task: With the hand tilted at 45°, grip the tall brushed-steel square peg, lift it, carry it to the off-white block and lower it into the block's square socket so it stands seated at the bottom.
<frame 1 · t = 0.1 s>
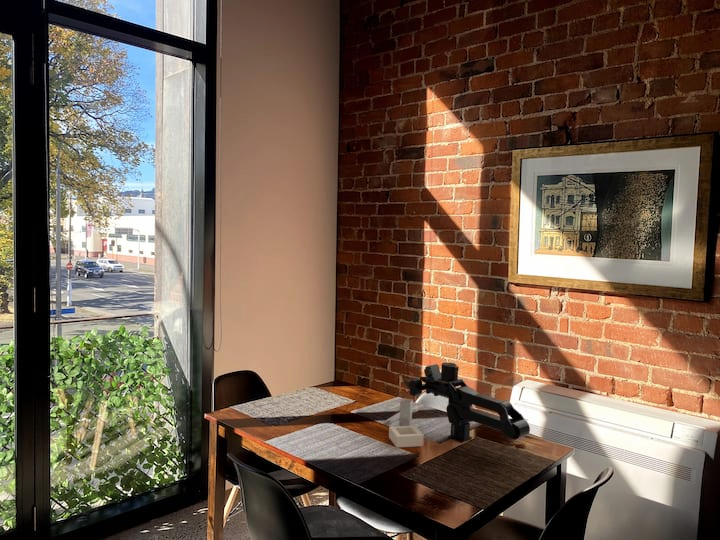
hand: (412, 379, 236), 17 cm above the table, tool horizontal, fingers open, 9 cm apart
socket block: (405, 441, 214), on the table
steel peg: (405, 430, 225), on the table
adjustable wrench: (399, 416, 243), on the table
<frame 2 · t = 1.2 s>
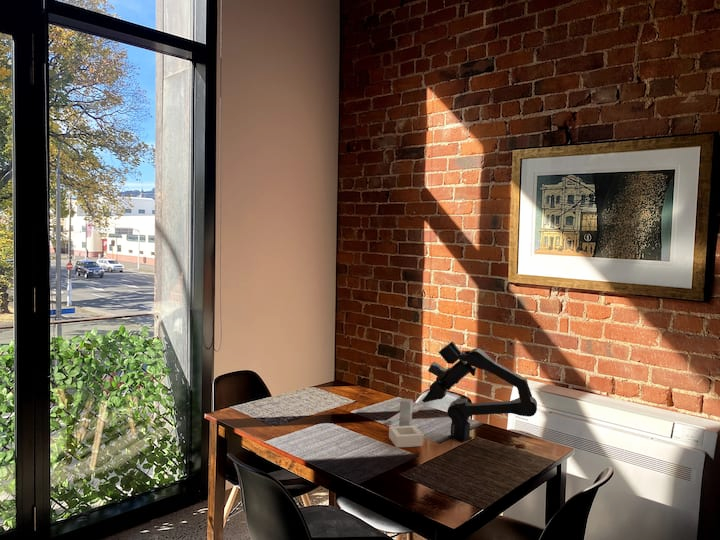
hand: (425, 398, 222), 14 cm above the table, tool tilted 45°, fingers open, 9 cm apart
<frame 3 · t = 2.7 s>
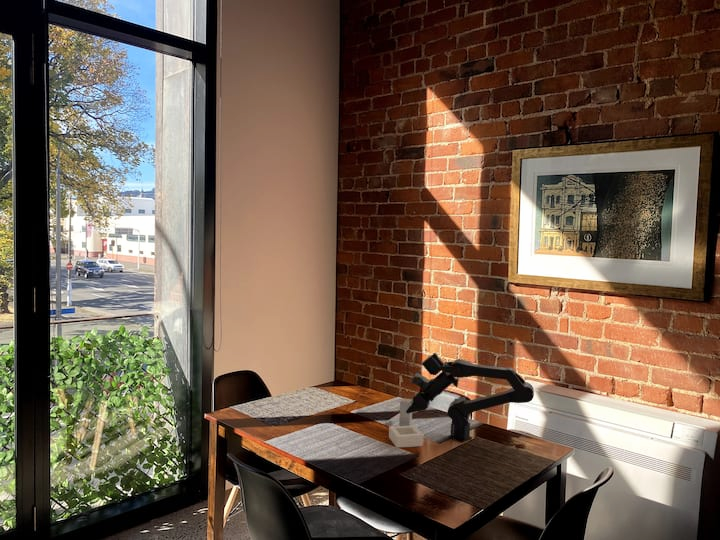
hand: (409, 408, 224), 9 cm above the table, tool tilted 45°, fingers open, 9 cm apart
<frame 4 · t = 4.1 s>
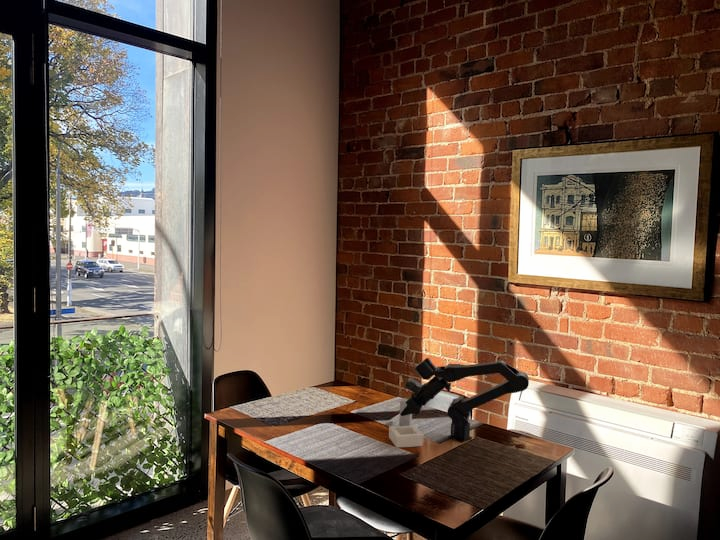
hand: (402, 413, 225), 7 cm above the table, tool tilted 45°, fingers closed on steel peg, 4 cm apart
steel peg: (405, 430, 225), on the table, touching gripper
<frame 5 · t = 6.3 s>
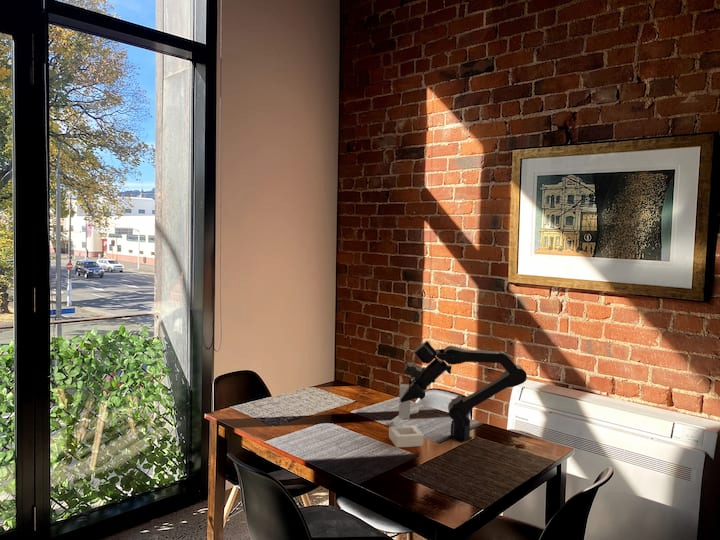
hand: (401, 399, 220), 13 cm above the table, tool tilted 45°, fingers closed on steel peg, 4 cm apart
steel peg: (404, 416, 220), point 7 cm above the table, touching gripper
when the fingers open (8 cm above the table, at t = 8.5 s): steel peg drops 1 cm, resting in socket block.
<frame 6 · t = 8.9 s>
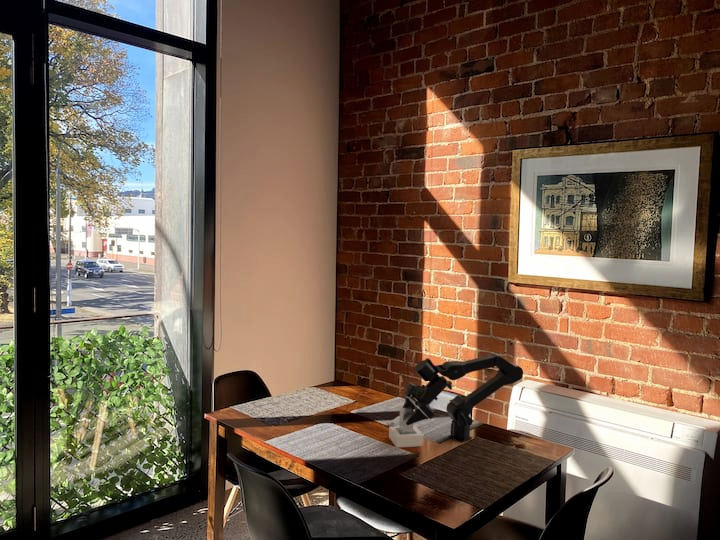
hand: (402, 420, 213), 8 cm above the table, tool tilted 45°, fingers open, 8 cm apart
steel peg: (405, 441, 214), resting in socket block
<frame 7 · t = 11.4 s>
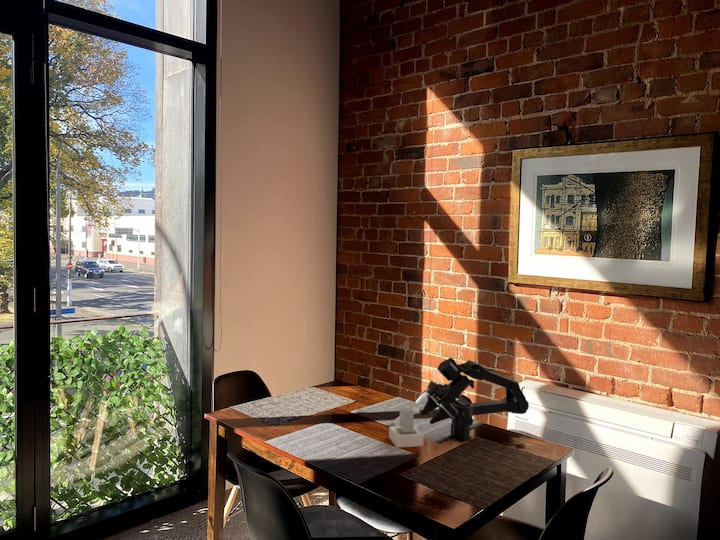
hand: (425, 418, 215), 8 cm above the table, tool tilted 45°, fingers open, 9 cm apart
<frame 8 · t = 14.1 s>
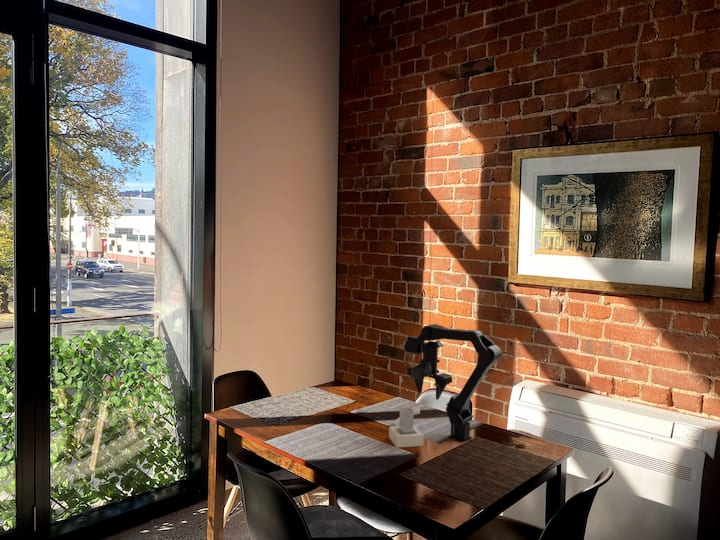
hand: (428, 396, 226), 13 cm above the table, tool pointing down, fingers open, 9 cm apart
at the end: steel peg 0.0 cm off-centre on the socket block, point 0.0 cm above the socket block's base; steel peg tilted 0°; the gripper is holding nothing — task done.
